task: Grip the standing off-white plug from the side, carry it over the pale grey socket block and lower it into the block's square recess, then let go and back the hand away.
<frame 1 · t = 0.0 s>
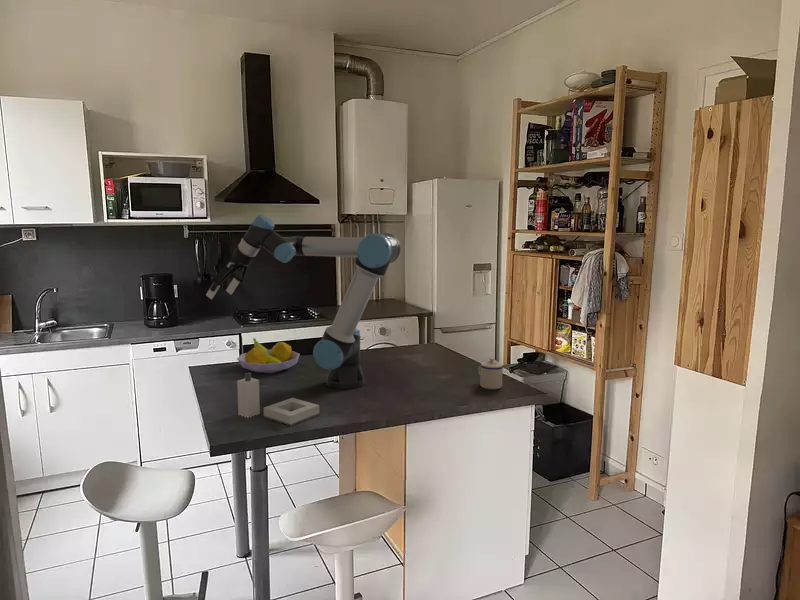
hand: (219, 294, 215), 36 cm above the kitchen island, tool tilted 35°, fingers open, 13 cm apart
teacup with lid: (488, 385, 221), on the kitchen island
plug: (249, 414, 186), on the kitchen island
socket: (291, 416, 184), on the kitchen island
fruit bowl: (268, 368, 243), on the kitchen island
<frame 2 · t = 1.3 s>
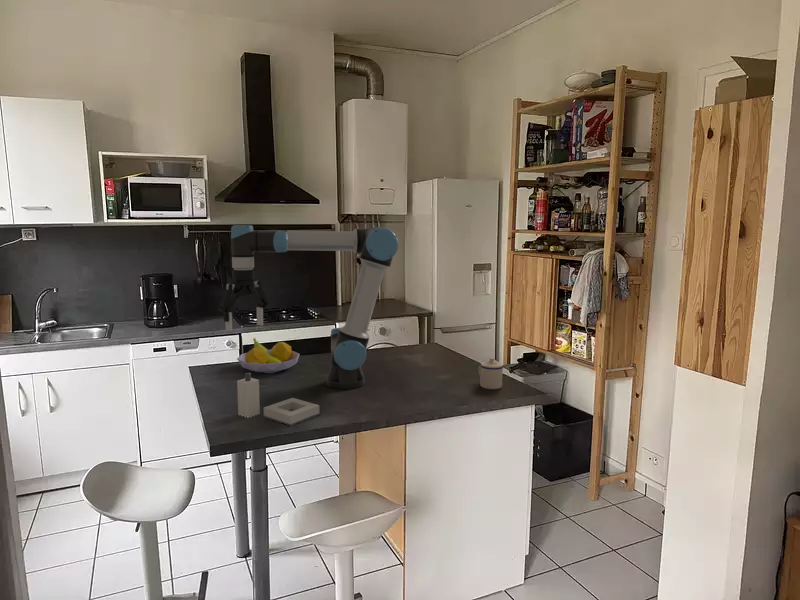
hand: (244, 327, 197), 27 cm above the kitchen island, tool pointing down, fingers open, 13 cm apart
nothing on the kitchen island moved.
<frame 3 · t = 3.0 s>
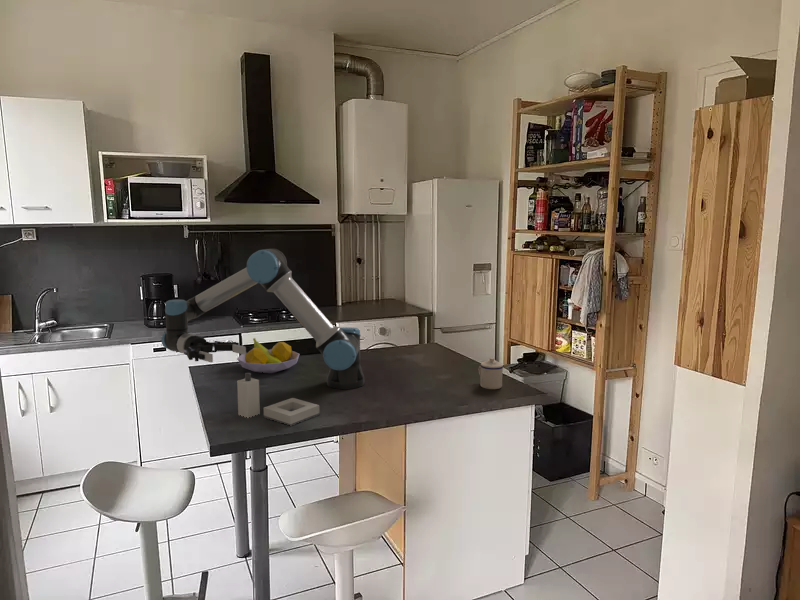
hand: (228, 354, 189), 19 cm above the kitchen island, tool horizontal, fingers open, 13 cm apart
nothing on the kitchen island moved.
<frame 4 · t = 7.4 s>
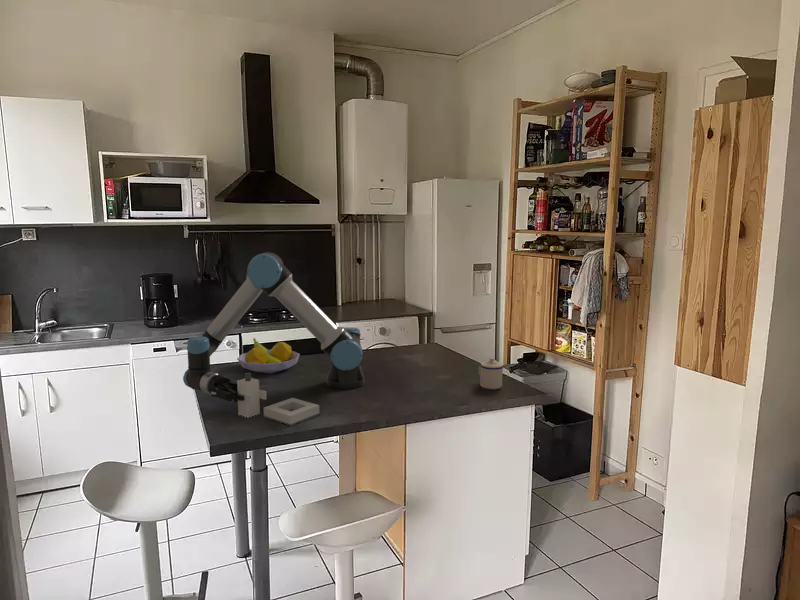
hand: (258, 397, 182), 7 cm above the kitchen island, tool horizontal, fingers closed on plug, 5 cm apart
plug: (249, 414, 186), on the kitchen island, touching gripper
everything else where it was.
when the fingers open (9 cm above the kitchen island, at t = 12.2 s): plug drops 1 cm, resting on socket.
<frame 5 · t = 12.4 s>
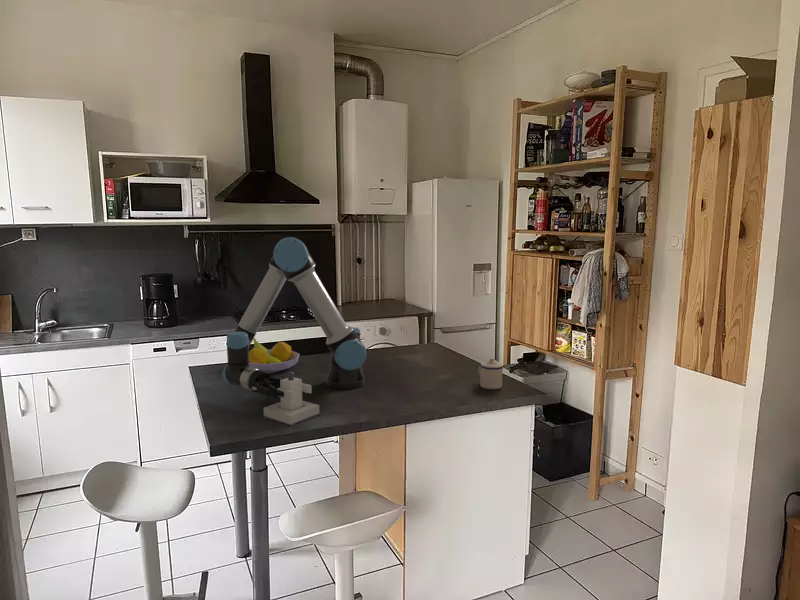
hand: (301, 392, 180), 9 cm above the kitchen island, tool horizontal, fingers open, 8 cm apart
plug: (291, 414, 184), point 1 cm above the kitchen island, touching socket
everything else where it was.
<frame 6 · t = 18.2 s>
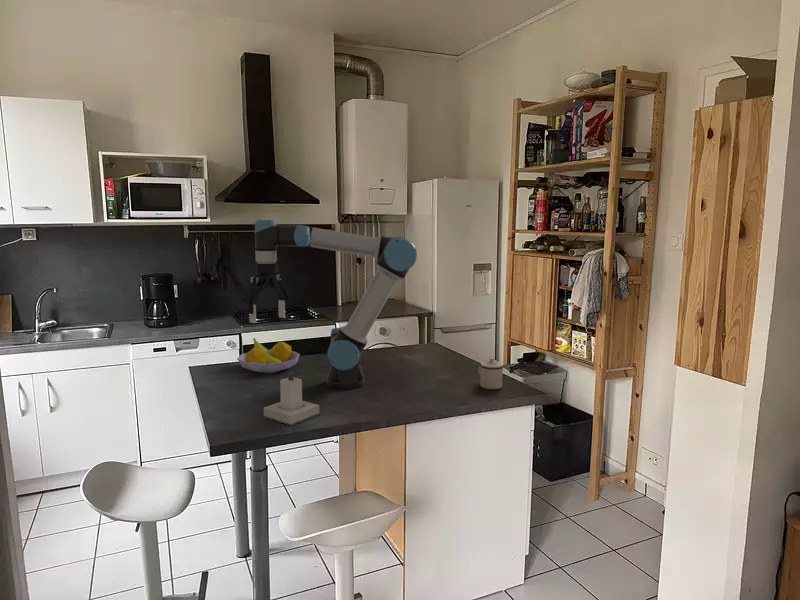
hand: (267, 319, 202), 29 cm above the kitchen island, tool pointing down, fingers open, 13 cm apart
nothing on the kitchen island moved.
at the end: plug 0.0 cm off-centre on the socket, point 0.8 cm above the socket's base; plug tilted 0°; the gripper is holding nothing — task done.
